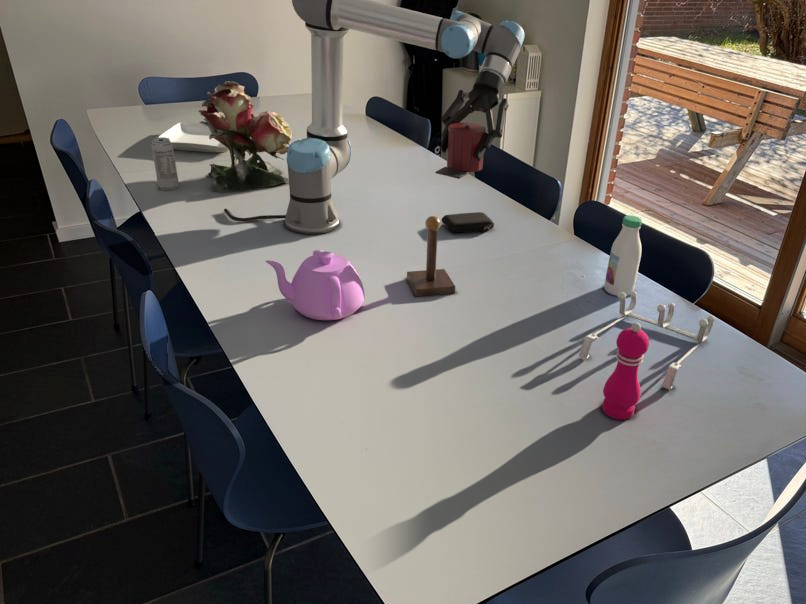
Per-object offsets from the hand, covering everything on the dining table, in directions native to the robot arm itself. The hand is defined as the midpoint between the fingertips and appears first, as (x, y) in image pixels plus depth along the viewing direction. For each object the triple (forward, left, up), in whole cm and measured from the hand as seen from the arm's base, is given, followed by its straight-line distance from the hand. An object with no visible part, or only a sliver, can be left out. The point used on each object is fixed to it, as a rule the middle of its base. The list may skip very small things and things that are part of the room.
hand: (459, 153), depth 183 cm
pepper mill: (+12, -74, -29) cm, 81 cm away
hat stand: (-11, -15, -29) cm, 34 cm away
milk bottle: (+37, -26, -29) cm, 54 cm away
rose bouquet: (-51, +73, -29) cm, 93 cm away
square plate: (-64, +111, -29) cm, 131 cm away
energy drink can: (-75, +65, -29) cm, 103 cm away
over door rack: (+30, -54, -29) cm, 69 cm away
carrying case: (+10, +20, -29) cm, 36 cm away
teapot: (-40, -22, -29) cm, 54 cm away
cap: (+1, +1, -4) cm, 4 cm away
